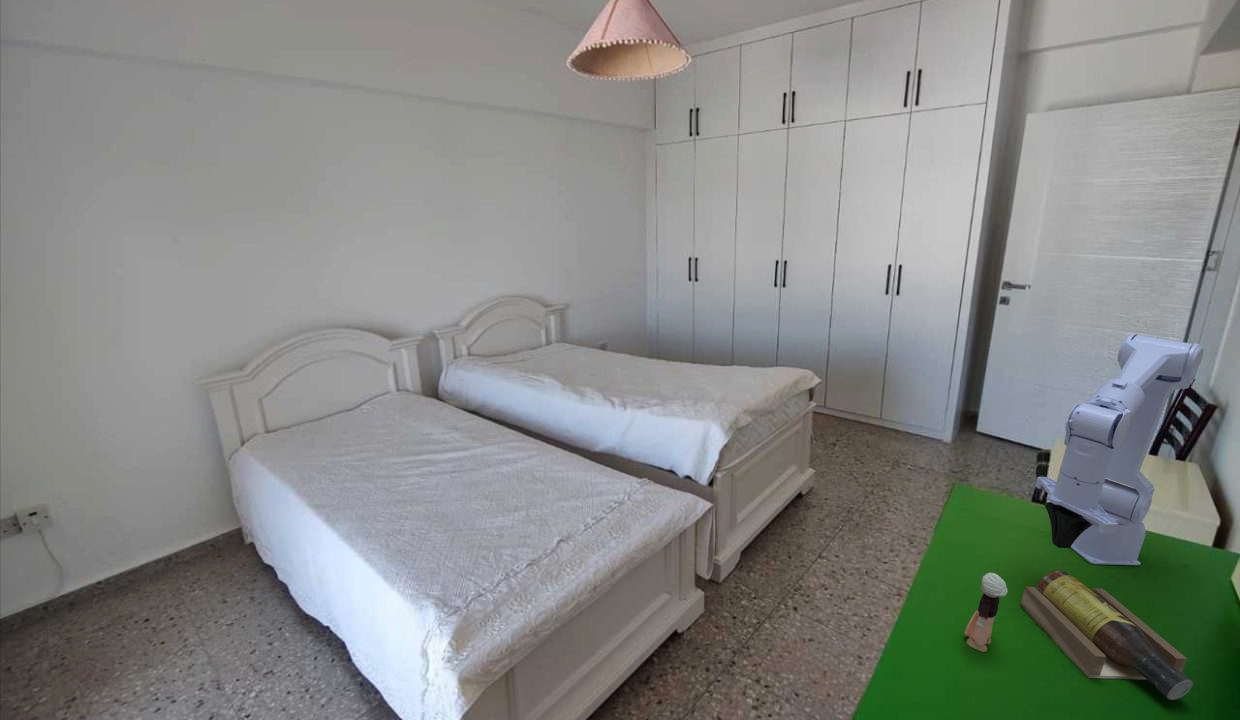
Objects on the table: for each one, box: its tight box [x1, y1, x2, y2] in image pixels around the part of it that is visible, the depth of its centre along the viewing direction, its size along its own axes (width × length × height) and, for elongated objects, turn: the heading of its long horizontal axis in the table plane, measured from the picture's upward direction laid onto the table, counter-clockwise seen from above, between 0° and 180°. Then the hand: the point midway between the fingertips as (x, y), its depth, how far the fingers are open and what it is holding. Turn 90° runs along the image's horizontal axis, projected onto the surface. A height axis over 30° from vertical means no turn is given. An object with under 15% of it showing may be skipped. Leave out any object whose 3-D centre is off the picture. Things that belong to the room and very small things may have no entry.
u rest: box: [1019, 586, 1188, 680], centre depth 85 cm, size 13×14×4 cm
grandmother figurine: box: [964, 572, 1009, 653], centre depth 83 cm, size 8×4×13 cm, turn 141°
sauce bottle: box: [1036, 569, 1194, 701], centre depth 82 cm, size 6×6×20 cm
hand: (1061, 545), depth 92 cm, fingers closed
